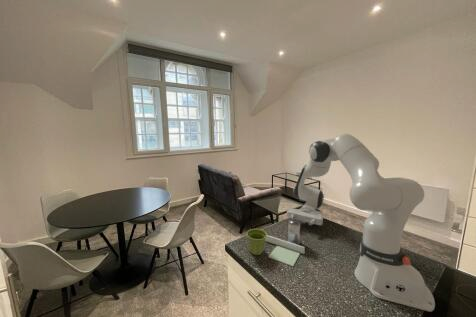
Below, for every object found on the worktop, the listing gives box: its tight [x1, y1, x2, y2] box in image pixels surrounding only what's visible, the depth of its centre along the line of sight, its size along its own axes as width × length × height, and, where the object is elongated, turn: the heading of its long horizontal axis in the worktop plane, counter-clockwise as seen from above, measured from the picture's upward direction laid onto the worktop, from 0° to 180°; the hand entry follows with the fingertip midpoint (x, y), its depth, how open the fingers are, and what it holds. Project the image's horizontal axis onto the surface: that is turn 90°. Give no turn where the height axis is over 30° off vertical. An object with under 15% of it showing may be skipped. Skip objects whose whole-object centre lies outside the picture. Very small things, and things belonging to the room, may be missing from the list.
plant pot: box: [246, 228, 268, 256], centre depth 90 cm, size 9×9×9 cm
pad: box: [268, 245, 301, 267], centre depth 87 cm, size 11×10×1 cm
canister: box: [287, 218, 302, 245], centre depth 97 cm, size 6×6×11 cm
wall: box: [265, 234, 306, 255], centre depth 94 cm, size 20×1×3 cm, turn 57°
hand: (300, 221), depth 107 cm, fingers open, 8 cm apart
